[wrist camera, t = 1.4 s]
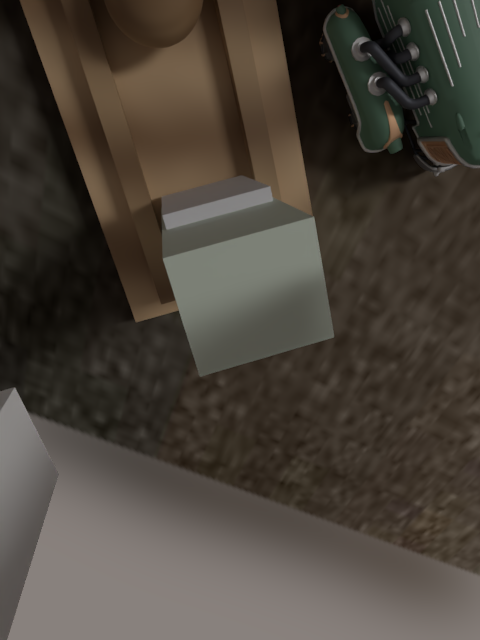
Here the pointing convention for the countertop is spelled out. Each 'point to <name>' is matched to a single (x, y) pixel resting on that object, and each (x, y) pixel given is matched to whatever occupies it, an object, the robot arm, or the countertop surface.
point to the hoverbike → (412, 77)
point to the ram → (243, 273)
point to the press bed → (169, 120)
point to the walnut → (155, 20)
